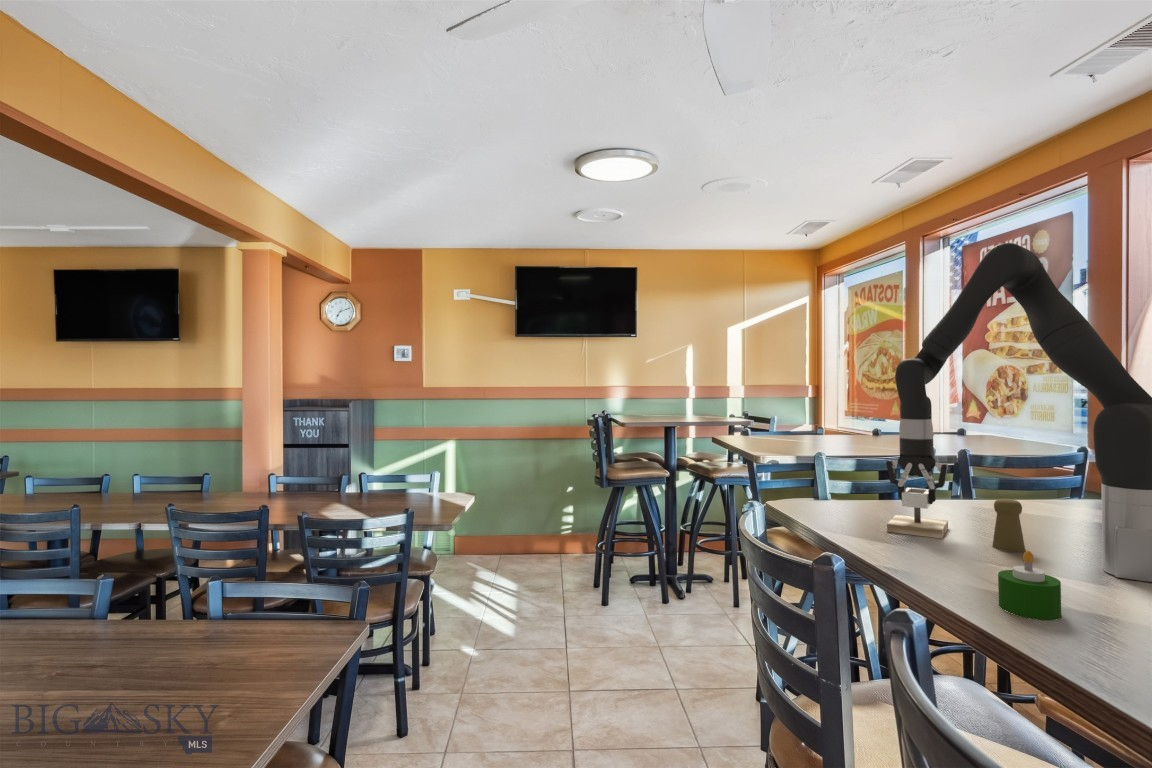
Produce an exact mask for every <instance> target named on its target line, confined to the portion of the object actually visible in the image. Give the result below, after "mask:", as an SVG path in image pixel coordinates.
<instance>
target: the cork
mask: <svg viewBox="0 0 1152 768" xmlns="http://www.w3.org/2000/svg"><path fill="white" fill-rule="evenodd" d="M993 509H994V512H995V513H996V519H995V525H994V533H993V538H992V539H993V540H992V547H993V548H994V549H997V550H1001V551H1005V552H1013V553H1014V552H1016V553H1017V552H1018V553H1019V552H1020V553H1021V552H1026V546H1025V542H1024V541H1025V540H1024V534H1023V530H1022V529H1023V528H1022V524H1021V518H1020V515H1021V514H1022V512H1023V506H1022V504H1021V502H1020V501H1018V500H1015V499H1010V498H999V499H996V500H994V503H993Z"/></svg>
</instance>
